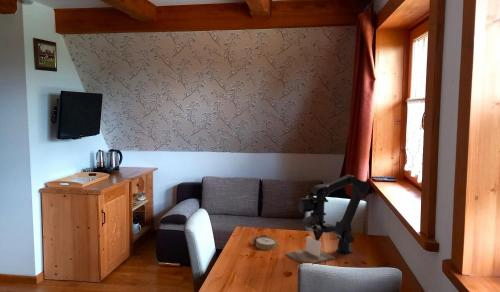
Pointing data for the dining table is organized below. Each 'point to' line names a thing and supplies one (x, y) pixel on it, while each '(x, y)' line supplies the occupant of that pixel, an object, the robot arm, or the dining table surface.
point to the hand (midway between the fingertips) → (317, 240)
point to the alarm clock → (264, 242)
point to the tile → (313, 246)
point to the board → (309, 256)
